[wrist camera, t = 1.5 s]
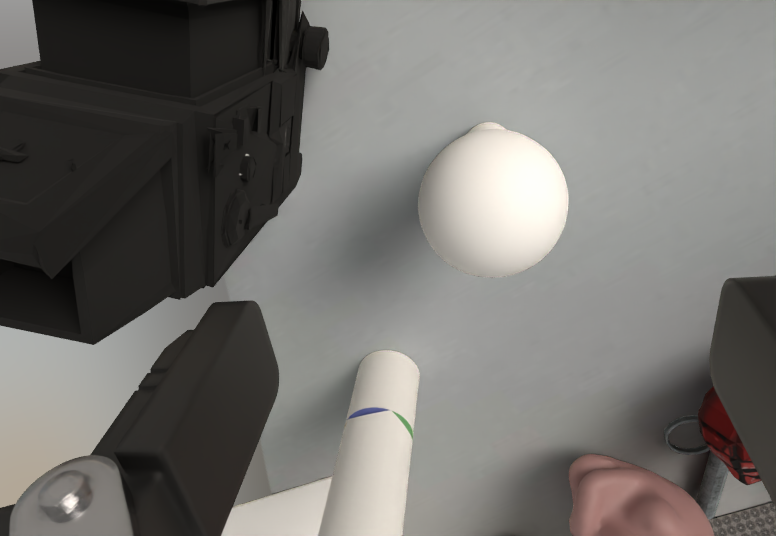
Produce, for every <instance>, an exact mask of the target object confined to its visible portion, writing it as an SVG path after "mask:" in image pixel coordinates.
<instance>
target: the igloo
mask: <svg viewBox="0 0 776 536" xmlns="http://www.w3.org/2000/svg"><path fill="white" fill-rule="evenodd" d="M331 480H332V476H331V477H327V478H324V479H321V480H318V481H314V482H311V483H308V484H305V485H302V486H298V487H295V488H292V489H289V490H285V491H282V492H279V493H276V494H272V495H269V496H266V497H263V498H259V499H256V500H253V501H250V502H247V503H244V504H240V505H237V506H234V507H232V509H231V512H230V514H229V517H228V519H227V522H226V524H225V527H224V529H223V532H222V534H221V536H318V534H319V529H320V525H321V521H322V517H323V513H324V509H325V505H326V501H327V497H328V493H329V488H330V484H331Z"/></svg>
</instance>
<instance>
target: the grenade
mask: <svg viewBox="0 0 776 536" xmlns="http://www.w3.org/2000/svg"><path fill="white" fill-rule="evenodd" d="M698 420H699V427H700V433H701V435H702V436H703V438H704V440H705V442H706V444H707V445H708V447H709V448H710V449H711V451H712V452H713V453H714V454H715V455H716V456H717V457H718V458H719V459H720V460H721V461H722V462H723V463H724V464H725V465H726V467H727V468H728V469H729V471H730V472H731V473H732V475H733V476H734V477H735V478H736V479H738V480H739V481H740V482H742V483H744V484H746V485H750V484H753V483H756V482H759V481H762V480H761V478H760V476H759V474H758V472H757V470H756V468H755V466H754V464H753V462H752V461H751V459H750V457H749V455H748V453H747V451H746V449H745V447H744V445H743V443H742V441H741V439H740V437H739V435H738V433H737V432H736V430H735V428H734V426H733V424H732V422H731V420H730V418H729V416H728V414H727V412H726V410H725V408H724V406H723V404H722V403H721V401H720V399H719V397H718V395H717V393H716V391H715V388H714V386H713V387H712V388H711V389H710V390H709V391H708V392H707V393H706V394H705V397H704V400H703V402H702V405H701V408H700V409H699V411H698Z"/></svg>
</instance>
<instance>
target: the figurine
mask: <svg viewBox="0 0 776 536" xmlns="http://www.w3.org/2000/svg"><path fill="white" fill-rule="evenodd" d="M569 482H570V486H571V490H572V498H573V505H574V506H573V511H572V514H571V516H570V519H569V524H570V532H571V533H572V535H573V536H714V532H713V529H712V527H711V525H710V522H709V520H708V519H707V517H706V515H705V513H704V512H703V510H702V509H701V508H700V506H699V505H698V504H697V502H696V501H695V500H694V499H693V498H692V497H691V496H690V495H689V494H688V493H687V492H686V491H684V490H683V489H682V488H680V487H679V486H677V485H676V484H674V483H673V482H671V481H669V480H667V479H665V478H663V477H660V476H659V475H657V474H655V473H653V472H651V471H649V470H647V469H644V468H641V467H638V466H636V465H633V464H630V463H627V462H623V461H620V460H617V459H614V458H611V457H608V456H603V455H595V454H587V455H583V456H581V457H579V458H578V459H576V460H575V461H574V462H573V463H572V465H571V466H570V469H569Z"/></svg>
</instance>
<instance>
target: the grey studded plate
mask: <svg viewBox="0 0 776 536" xmlns="http://www.w3.org/2000/svg"><path fill="white" fill-rule="evenodd" d="M709 522H710V525H711V527H712V529H713V532H714V536H776V507H775V505H774V503H773V502H772V503H769V504H765V505H761V506H758V507H754V508H751V509H747V510H743V511H740V512H736V513H732V514H729V515H725V516H721V517H718V518H714V519H711V520H709Z"/></svg>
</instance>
